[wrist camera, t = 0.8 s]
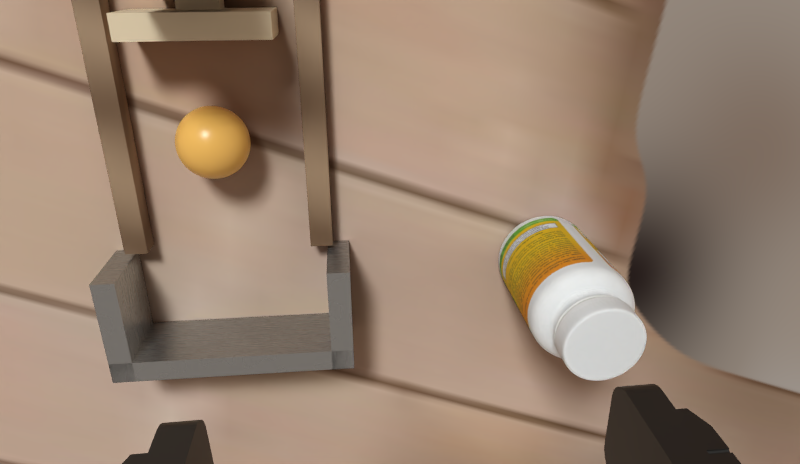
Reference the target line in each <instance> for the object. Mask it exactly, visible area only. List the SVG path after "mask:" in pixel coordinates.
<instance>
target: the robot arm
mask: <svg viewBox="0 0 800 464" xmlns="http://www.w3.org/2000/svg"><path fill="white" fill-rule="evenodd" d="M604 451H605V460H606V464H741V463H740V462H739V460H738V459H737V458H736V457H735V455H734V454H733V453H730V452H729V448H728V446H727V445H726V444H725V443H724V441H723V440H722V439H721V438H720V436H719V435H718V434H717V433H716V431H715V430H714V429H713V427H712V426H710V425H709V424H708V423H706V422H705V421H703V420H702V419H701V418H699V417H698V416H697V415H695V414H694V413H692V412H691V411H690V410H688V409H687V408H685V409H675V407H674V406H673V405H672V403H671V402H670V401H669V399H668V398H667V396H666V395H665V394H664V392H663V391H662V390H661V389H660V387H658V386H657V385H655V384H646V385H634V386H622V387H616V388H615V389H614V391H613V395H612V400H611V407H610V413H609V419H608V426H607V432H606V438H605V446H604ZM122 464H214V463H213V458H212V453H211V449H210V444H209V439H208V435H207V430H206V426H205V423H204V421H203V420H193V421H181V422H169V423H162V424H160V425H159V427H158V429H157V431H156V434H155V436H154V439H153V441H152V444H151V447H150V449H149V452H148V453H143V454H132V455H130V456H129V457H128V458H127V459H126V460H125V461H124V462H123V463H122Z"/></svg>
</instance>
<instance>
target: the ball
mask: <svg viewBox="0 0 800 464" xmlns="http://www.w3.org/2000/svg"><path fill="white" fill-rule="evenodd" d="M175 147H176V151H177V154H178V156H179V158H180V160H181V161H182V163H183V164H184V165H185V166H186V167H187V168H188V169H189V170H190V171H191V172H193V173H195V174H196V175H199V176H201V177H204V178H210V179H219V178H225V177H228V176H230V175H232V174H234V173H235V172H237V171H238V170H239V169H240V168H241V167H242V166H243V165H244V164H245V162H246V160H247V158H248V156H249V152H250V147H251V140H250V135H249V132H248V129H247V127H246V125H245V124H244V122H243V121H242V120H241V119H240V118H239V117H238V116H237V115H236V114H235V113H233V112H232V111H230V110H228V109H225V108H222V107H218V106H204V107H200V108H197V109H195V110H193V111H191V112H190V113H188V114H187V115H186V116H185V117H184V118H183V119H182V121H181V122H180V124H179V126H178V128H177V131H176V135H175Z"/></svg>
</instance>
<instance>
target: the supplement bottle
mask: <svg viewBox="0 0 800 464" xmlns="http://www.w3.org/2000/svg"><path fill="white" fill-rule="evenodd" d="M498 265H499V271H500V274H501V276H502V278H503V281H504V282H505V284H506V286H507V288H508V290H509V292H510V293H511V295H512V297H513V299H514V301H515V303H516V305H517V307H518V308H519V310H520V312H521V314H522V316H523V318H524V319H525V321H526V323H527V325H528V327H529V329H530V331H531V333H532V334H533V336H534V338H535V339H536V341H537V342H538V343H539V345H540V346H541V347H542V348H543V349H545V350H546V351H547V352H549V353H550V354H552V355H554V356H556V357H559V358H562V360H563V361H564V363H565V364H566V366H567V368H568V369H569V370H570V371H571V372H572V373H573V374H575V375H576V376H578V377H580V378H583V379H586V380H592V381H600V380H607V379H611V378H614V377H617V376H619V375H621V374H623V373H624V372H626V371H627V370H629V369H630V368H631V367H633V366H634V365H635V363H636V362H637V361H638V360H639V359H640V357H641V355H642V354H643V352H644V349H645V346H646V340H647V335H646V329H645V327H644V324H643V322H642V321H641V320H640V318H639V317H638V316H637V315H636V313H635V312H634V311H635V302H634V297H633V293H632V291H631V288H630V287H629V285H628V283H627V282H626V281H625V279H624V278H623V277H622V276H621V274H620V273H619V272H618V271H617V270H616V269H615V268H614V267H613V266H612V265H611V264H610V263H609V261H608V260H607V259H606V258H605V257H604V256H603V255H602V254H601V253H600V252H599V251H598V249H597V248H596V247H595V246H594V245H593V244H592V243H591V242H590V241H589V240H588V239H587V237H586V236H585V235H584V234H583V233H582V232H581V231H580V230H579V229H578V228H577V227H576V226H575V225H573V224H572V223H571V222H569V221H567V220H565V219H563V218H560V217H555V216H540V217H535V218H532V219H529V220H527V221H525V222H523V223H521V224H519V225H518V226H517V227H515V228H514V229H513V230H512V231H511V232H510V233H509V234H508V236H507V237H506V239H505V240H504V242H503V244H502V246H501V248H500V252H499V258H498Z"/></svg>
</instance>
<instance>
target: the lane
mask: <svg viewBox="0 0 800 464" xmlns="http://www.w3.org/2000/svg"><path fill="white" fill-rule="evenodd" d="M71 2H72V6H73V11H74V16H75V21H76V25H77V30H78V35H79V40H80V44H81V49H82V54H83V59H84V63H85V68H86V73H87V77H88V82H89V87H90V92H91V96H92V101H93V106H94V111H95V115H96V120H97V125H98V129H99V134H100V139H101V144H102V148H103V153H104V158H105V163H106V167H107V172H108V177H109V181H110V186H111V191H112V196H113V200H114V205H115V210H116V215H117V219H118V224H119V229H120V233H121V238H122V243H123V248H124V252H125V255H126V254H148V252H149V251H150V249H151V248H152V247H153V245H154V242H153V236H152V231H151V226H150V220H149V215H148V210H147V204H146V199H145V194H144V189H143V183H142V178H141V173H140V167H139V162H138V157H137V151H136V146H135V141H134V135H133V130H132V125H131V120H130V114H129V109H128V104H127V98H126V93H125V88H124V82H123V77H122V72H121V66H120V61H119V56H118V50H117V45H116V42H112V41H111V35H110V30H109V25H108V20H107V14H106V13H110V8H109V3H108V0H71ZM293 3H294V17H295V31H296V45H297V59H298V72H299V86H300V100H301V114H302V128H303V142H304V156H305V170H306V184H307V197H308V211H309V225H310V239H311V246H330V245H333V229H332V211H331V193H330V175H329V157H328V139H327V121H326V103H325V85H324V67H323V49H322V30H321V12H320V0H293Z"/></svg>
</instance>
